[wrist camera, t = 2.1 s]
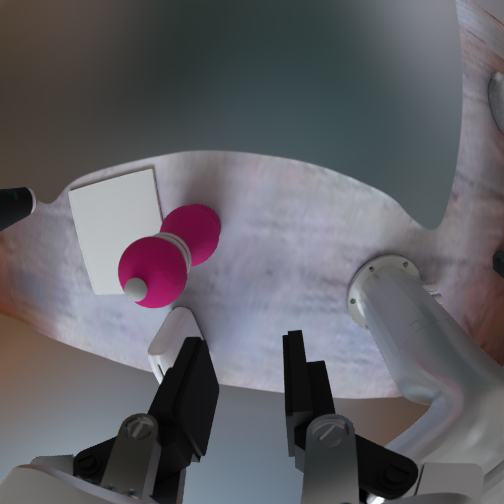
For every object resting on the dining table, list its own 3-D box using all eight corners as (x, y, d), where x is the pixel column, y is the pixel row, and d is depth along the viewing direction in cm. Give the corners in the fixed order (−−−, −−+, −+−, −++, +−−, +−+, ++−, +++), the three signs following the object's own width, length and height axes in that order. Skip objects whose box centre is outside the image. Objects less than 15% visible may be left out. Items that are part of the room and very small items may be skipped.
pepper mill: (190, 190, 35) (108, 226, 16) (234, 220, 36) (196, 287, 17) (164, 233, 38) (81, 299, 19) (206, 261, 38) (153, 352, 20)
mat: (153, 168, 35) (151, 168, 34) (178, 289, 40) (177, 290, 40) (70, 191, 36) (68, 191, 36) (96, 293, 42) (95, 294, 41)
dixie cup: (38, 176, 36) (-6, 186, 25) (43, 220, 38) (0, 238, 28) (16, 182, 36) (-25, 193, 26) (20, 222, 39) (-19, 238, 28)
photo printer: (212, 355, 44) (196, 409, 32) (189, 357, 45) (169, 409, 33) (191, 303, 41) (165, 354, 29) (167, 307, 42) (136, 356, 30)
